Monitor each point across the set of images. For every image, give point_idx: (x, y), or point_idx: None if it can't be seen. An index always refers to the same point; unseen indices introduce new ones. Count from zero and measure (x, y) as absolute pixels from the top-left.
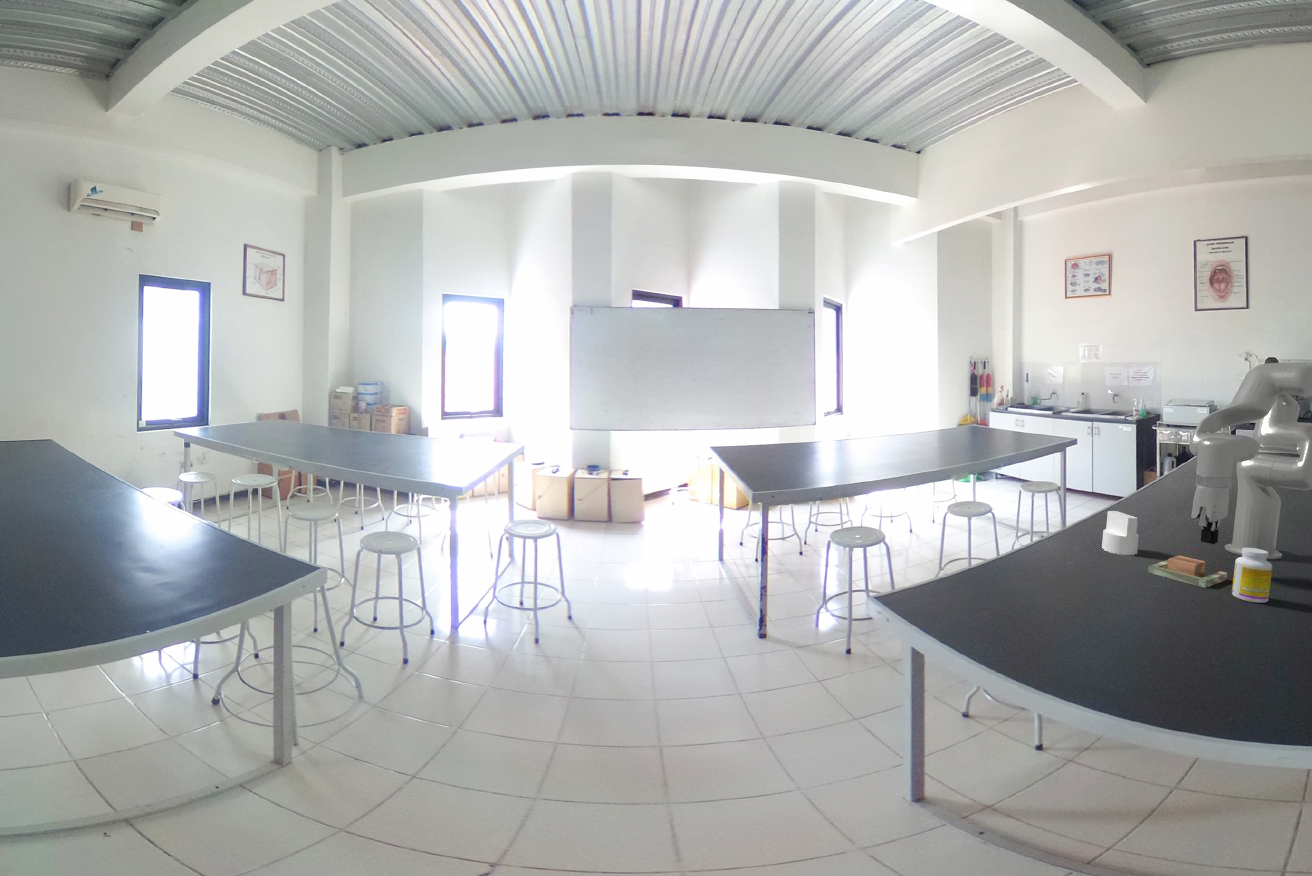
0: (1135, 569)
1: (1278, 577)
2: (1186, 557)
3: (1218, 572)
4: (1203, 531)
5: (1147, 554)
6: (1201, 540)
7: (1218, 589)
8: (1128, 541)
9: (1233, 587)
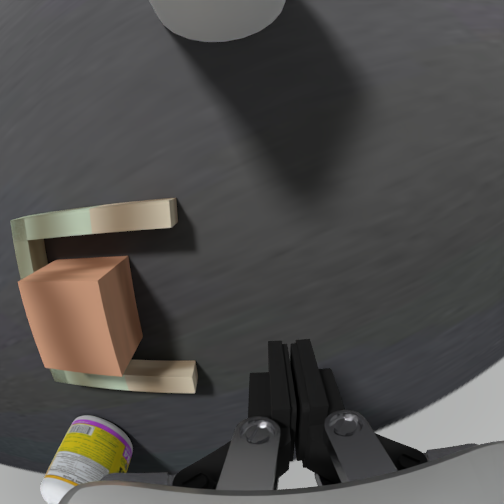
0: (23, 175)
1: (372, 406)
2: (99, 313)
3: (171, 378)
4: (269, 403)
5: (274, 63)
6: (269, 345)
7: (88, 388)
8: (163, 1)
9: (68, 430)
